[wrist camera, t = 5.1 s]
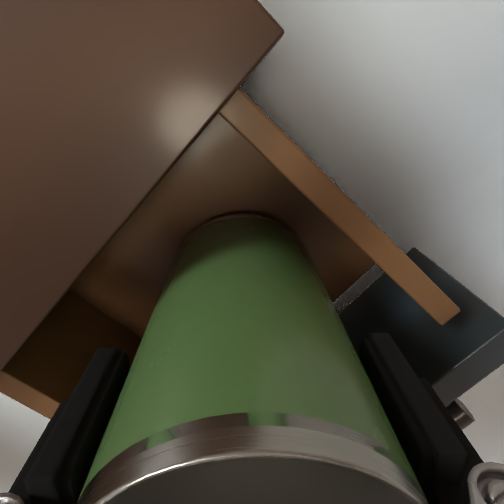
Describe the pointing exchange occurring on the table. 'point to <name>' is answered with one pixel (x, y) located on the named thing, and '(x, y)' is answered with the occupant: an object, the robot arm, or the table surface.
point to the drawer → (300, 223)
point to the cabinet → (101, 125)
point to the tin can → (248, 388)
